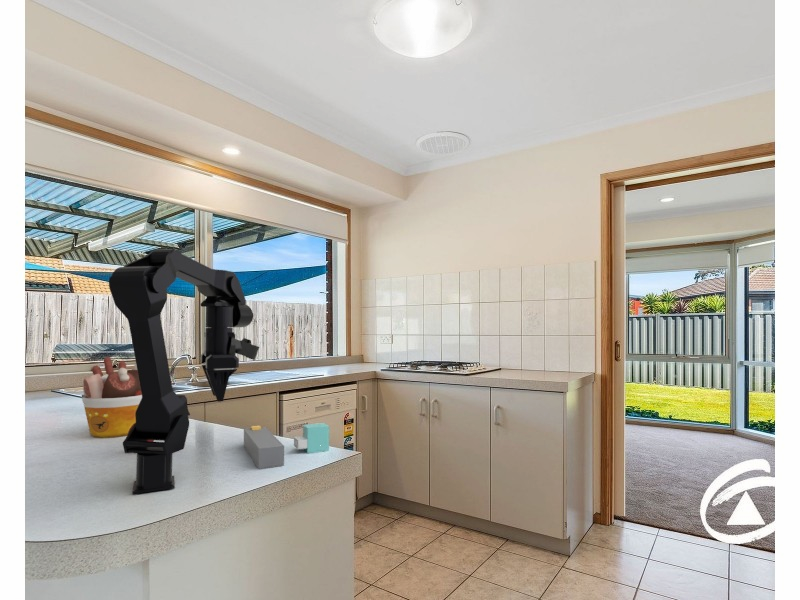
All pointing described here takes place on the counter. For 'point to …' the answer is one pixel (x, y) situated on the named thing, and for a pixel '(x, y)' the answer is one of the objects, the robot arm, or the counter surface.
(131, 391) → the bucket of meat
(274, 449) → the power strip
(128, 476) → the counter surface
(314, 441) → the block
